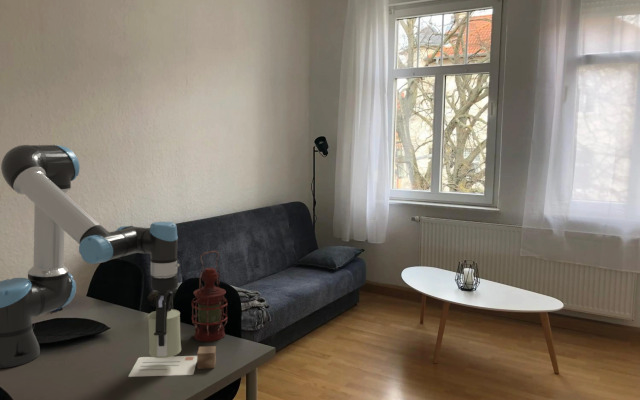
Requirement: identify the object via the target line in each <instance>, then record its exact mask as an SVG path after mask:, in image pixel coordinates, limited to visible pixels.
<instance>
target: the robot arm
mask: <svg viewBox="0 0 640 400" xmlns="http://www.w3.org/2000/svg"><path fill="white" fill-rule="evenodd" d="M80 168H81V167H80V161H79V158H78V156H77V154H75V153H74V151H73V150H72V149H71V148H68V147H67V146H63V145H55V144H35V145H30V144H22V145H17V146H14V147H13V148H11V149H9V151H7V152H6V153H5V154H4V156H3V157H2V161H1V164H0V169H1V174H2V177H3V179H4V180H5V182H6V183H7V185H8V186H9V187H10V188H11V189H12V190H13V191H14V192H15V193H17V194H19V195H25V196H26V197H27V198H28V199H29V200H30V201H31V202H33V204H34V207H33V209H34V219H33V224H34V225H33V266H31V268H30V269H28V270H27V278H26V277H14V278H13V277H12V278H10V279H9V278H8V279H3V280H0V369H5V368H12V367H17V366H22V365H25V364H28V363H30V362H32V361H34V360H35V359H37V358H38V357H39V356H40V354H41V353H40V352H41V351H40V343H39V342H38V340H37V337H36V335H35V333H34V331H33V318H36V317H38V316H42V315H44V314H47V313H51V312H50V311H52V312H54V311H53V310H57V309H60V308H61V307H62V308H63V307H65V306H68V305H69V304H70V303H71V302H72V301H73V299H74V297H75V295H76V291H77V283H76V280H74V276H73V274H71V273H70V272H69V269H68V267H67V266H65V264H64V263H65V262H64V259H65V258H64V257H65V251H64V250H65V233H66V234H68V236H70V238H72V239H73V240H74V241H75V242H76V243H78V253H79V254H80V256H81V259H82V260H83V261H84V262H85V263H87V264H92V265H95V264H100V263H106V262H108V261H111V260H114V259H117V258H121V257H125V256H129V255H133V254H137V253H139V254H148V255H149V256H150V276H151V277H150V288H151V289H152V290H153V291H156V292H158V294H157V295H156V300H155V311H156V329H155V333H154V335H157V356H167V333H166V327H167V322H166V319H167V312H168V311H171V309H173V310H174V300H173V298H174V295H173V293H174V292H173V291H174V290H175V289H177V288H178V286H179V285H178V284H179V282H178V281H179V280H178V279H179V277H178V268H179V267H180V263H178V239H179V237H178V229H177V228H178V226H177V224H176V223H175V222H173V221H155V222H152V223H151V224H150V227H140V226H139V227H138V226H134V225H128V226H126V225H123V226H119V227H118V228H117V229H116V230H115V231H114V230H113V231H109V230H107V228H104V227H103V225H101V224H100V223H99V222H98V221H97V220H95V219H94V217H92V215H90V214H89V213H88V212H86V211H85V210H84V209H83V208H82V207H81V206H80V205H79V204H78V203H77V202H76V201H74V200H73V199H72V198H71V197H70V196H69V195H68V194H67V193H68V191H70V190H71V189H72V186H71V185H72V182H73V181H74V180H76V178H77V177H78V176H79V174H80V170H81V169H80Z"/></svg>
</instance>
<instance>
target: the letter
mask: <svg viewBox="0 0 640 400" xmlns="http://www.w3.org/2000/svg"><path fill="white" fill-rule="evenodd" d="M196 366H197V355H183V356H182V355H181V356H180V355H179V356H178V355H174V356H171V357H167V358H155V357H152V356H141V357H138V358H137V359H136V362H135V364H134V366H133V367H132V369H131V371H130V373H129V374H128V378H130V377H131V378H133V377H134V378H135V377H158V376H159V377H161V376H162V377H163V376H166V377H167V376H191V375H192V376H193V375H194V372H195V369H196Z"/></svg>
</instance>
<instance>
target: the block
mask: <svg viewBox="0 0 640 400" xmlns="http://www.w3.org/2000/svg"><path fill="white" fill-rule="evenodd" d="M216 353H217V346H215V345H213V346H198V350H197V354H196V356H197V362H196V366H197V367H196V369H197V370H199V369H201V370H202V369H215V367H216V363H217V354H216Z"/></svg>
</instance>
